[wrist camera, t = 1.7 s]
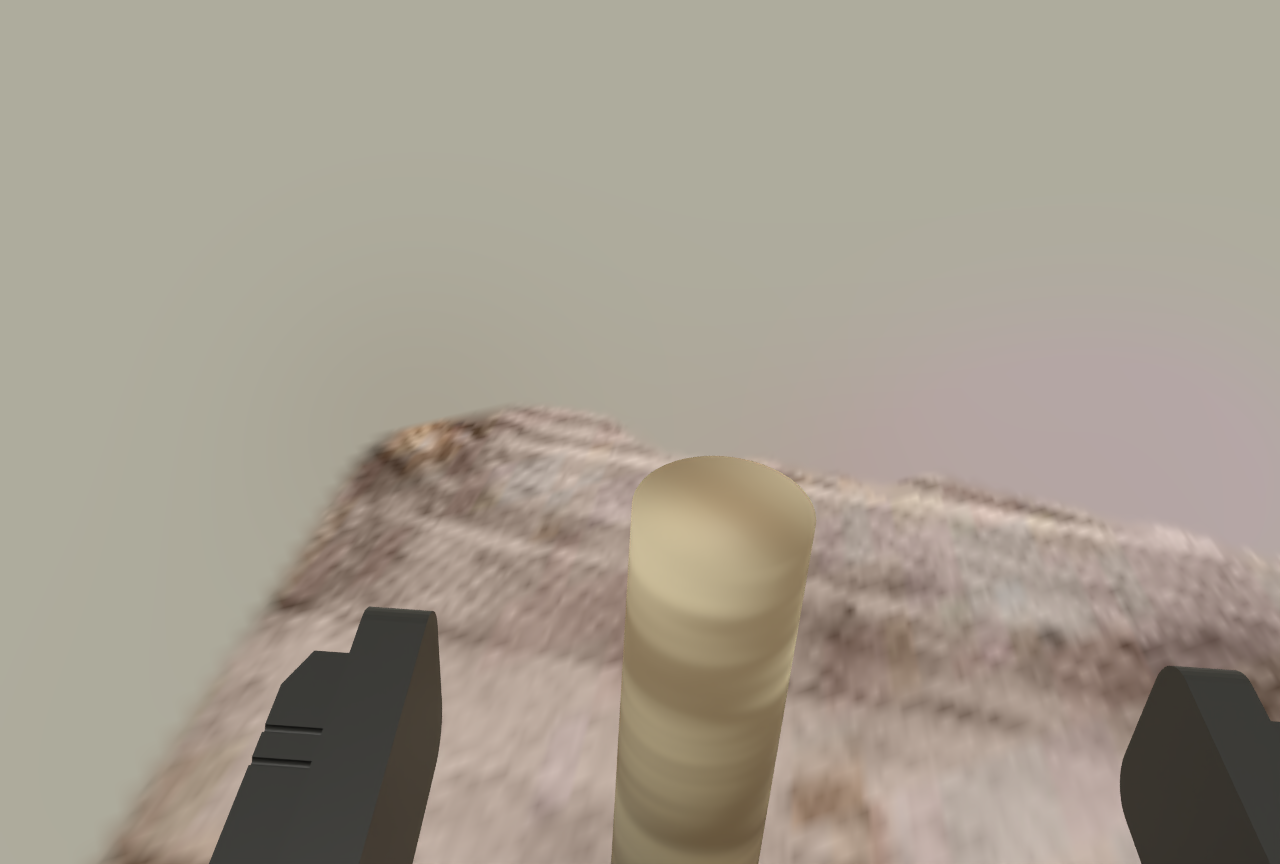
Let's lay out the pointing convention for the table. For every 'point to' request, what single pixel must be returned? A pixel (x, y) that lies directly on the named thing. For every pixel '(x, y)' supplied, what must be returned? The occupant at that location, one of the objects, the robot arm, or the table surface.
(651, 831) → the birch dowel
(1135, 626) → the table surface
